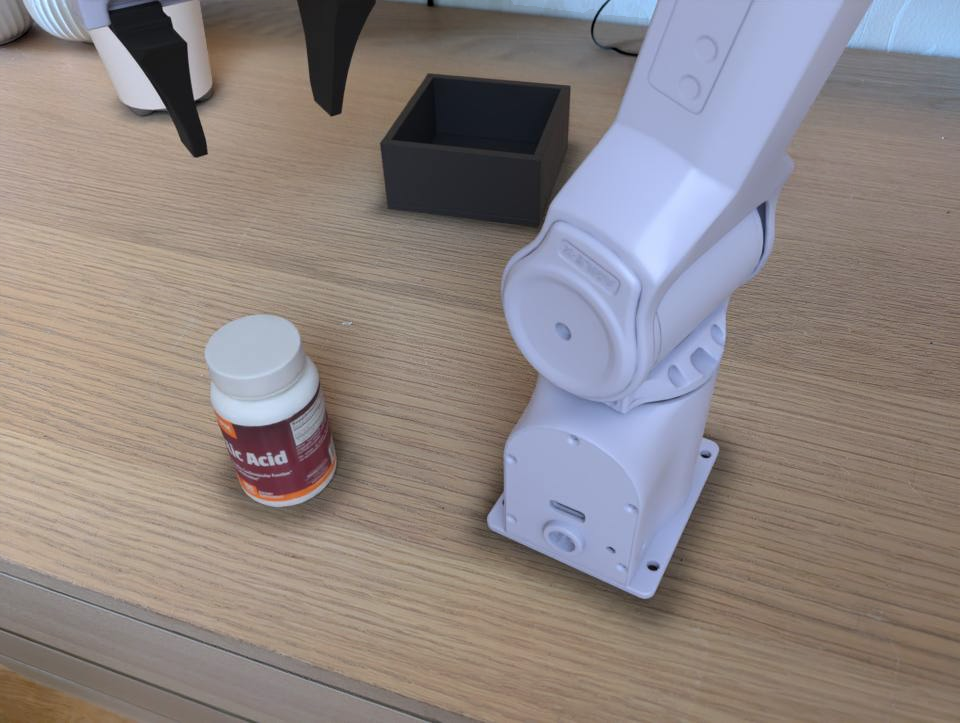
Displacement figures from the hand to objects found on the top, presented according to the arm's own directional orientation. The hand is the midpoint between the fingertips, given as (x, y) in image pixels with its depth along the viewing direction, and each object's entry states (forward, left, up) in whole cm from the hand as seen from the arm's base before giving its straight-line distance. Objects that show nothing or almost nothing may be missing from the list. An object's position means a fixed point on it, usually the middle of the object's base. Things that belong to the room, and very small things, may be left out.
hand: (263, 126), depth 44 cm
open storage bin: (+16, -4, -11) cm, 19 cm away
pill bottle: (-12, -9, -11) cm, 18 cm away
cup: (+15, +26, -11) cm, 32 cm away
